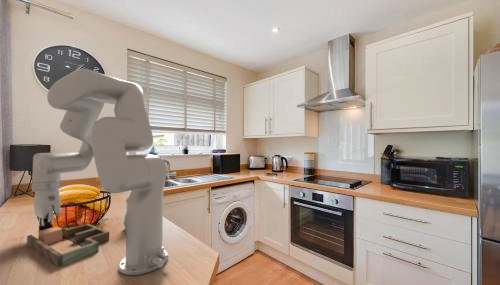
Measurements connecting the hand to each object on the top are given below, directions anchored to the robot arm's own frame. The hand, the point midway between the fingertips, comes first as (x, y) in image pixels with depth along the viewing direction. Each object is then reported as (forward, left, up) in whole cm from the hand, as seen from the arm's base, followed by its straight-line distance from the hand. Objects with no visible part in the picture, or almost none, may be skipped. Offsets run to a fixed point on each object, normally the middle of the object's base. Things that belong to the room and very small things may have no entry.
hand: (45, 235), depth 75 cm
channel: (-15, -3, -1) cm, 15 cm away
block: (-5, 0, -1) cm, 5 cm away
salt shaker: (-18, -22, -1) cm, 28 cm away
